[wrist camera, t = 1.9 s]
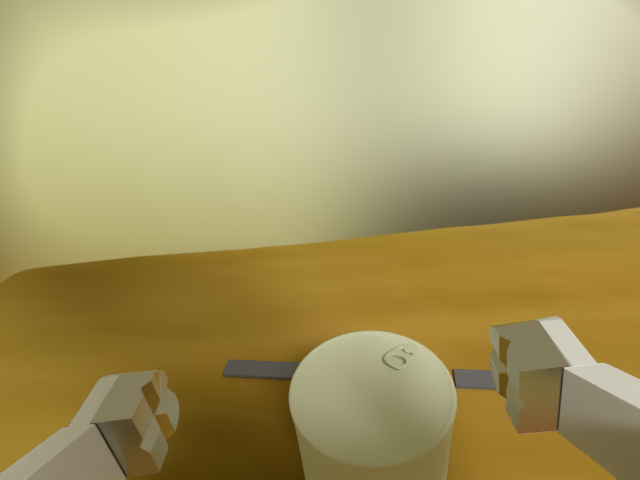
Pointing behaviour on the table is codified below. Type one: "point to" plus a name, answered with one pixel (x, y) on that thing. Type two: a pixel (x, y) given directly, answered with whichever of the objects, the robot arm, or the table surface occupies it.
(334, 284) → the table surface
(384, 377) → the can
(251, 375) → the strip
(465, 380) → the line strip
